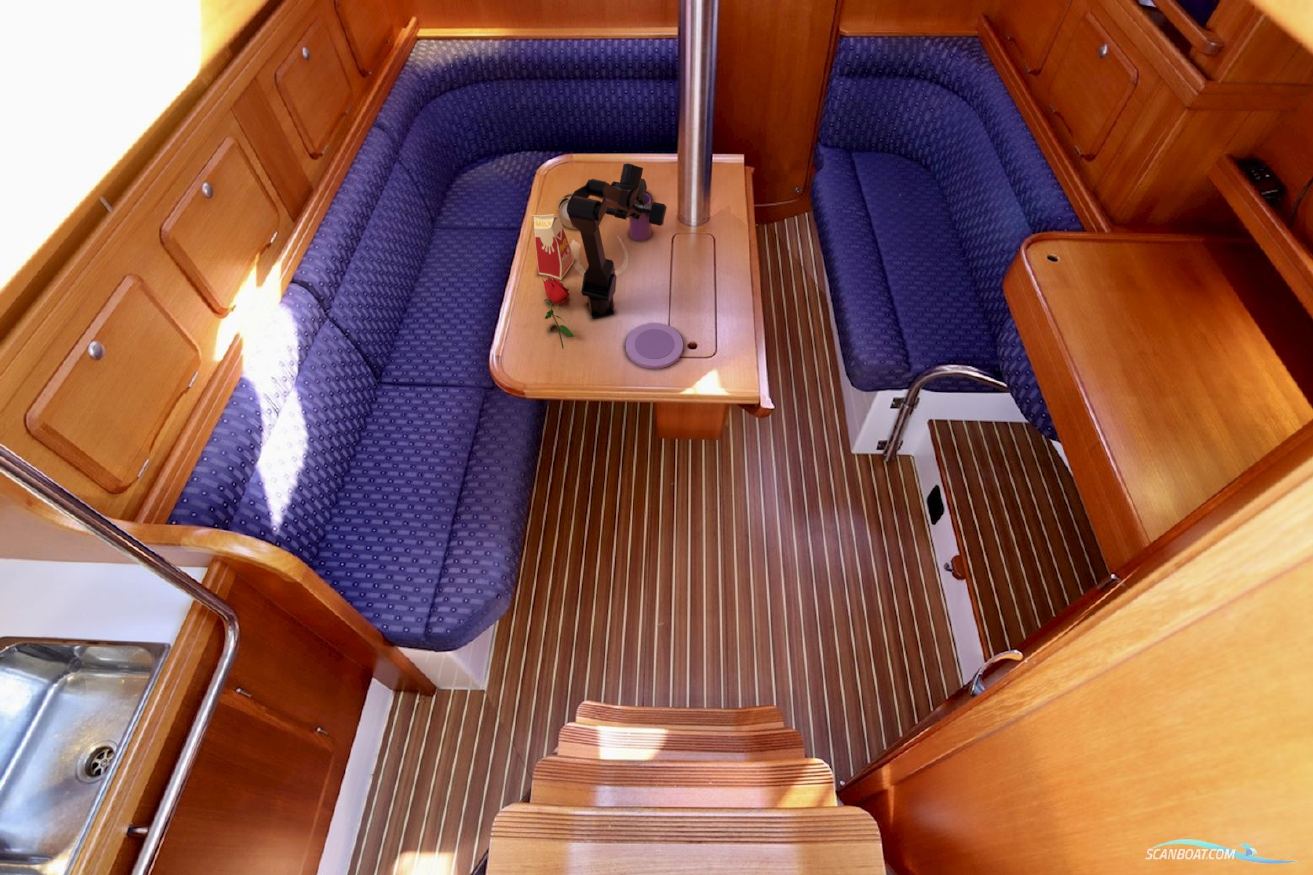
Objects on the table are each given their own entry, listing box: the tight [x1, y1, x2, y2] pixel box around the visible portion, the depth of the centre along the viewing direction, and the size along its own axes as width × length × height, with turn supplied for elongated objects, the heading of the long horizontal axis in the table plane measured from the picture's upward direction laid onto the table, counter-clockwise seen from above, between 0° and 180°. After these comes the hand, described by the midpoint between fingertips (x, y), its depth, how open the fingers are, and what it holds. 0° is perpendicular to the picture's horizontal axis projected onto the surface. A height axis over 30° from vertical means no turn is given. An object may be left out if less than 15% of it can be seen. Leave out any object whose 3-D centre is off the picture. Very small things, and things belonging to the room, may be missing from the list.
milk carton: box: [530, 213, 575, 281], centre depth 191 cm, size 9×9×20 cm
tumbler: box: [628, 193, 652, 242], centre depth 203 cm, size 7×7×13 cm
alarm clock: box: [557, 193, 578, 230], centre depth 212 cm, size 11×5×15 cm
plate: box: [625, 322, 684, 370], centre depth 181 cm, size 16×16×1 cm
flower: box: [542, 276, 575, 350], centre depth 183 cm, size 9×10×30 cm
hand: (641, 213), depth 203 cm, fingers open, 8 cm apart
